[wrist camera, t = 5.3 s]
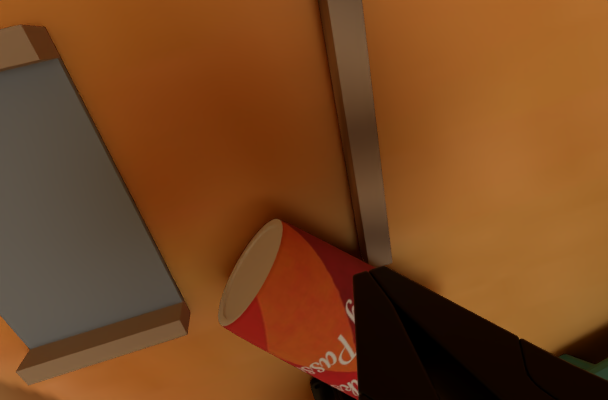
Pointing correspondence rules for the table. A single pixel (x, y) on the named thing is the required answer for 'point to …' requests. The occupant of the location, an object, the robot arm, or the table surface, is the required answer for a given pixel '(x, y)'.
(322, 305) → the coffee cup
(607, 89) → the table surface
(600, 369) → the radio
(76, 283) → the mat
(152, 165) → the table surface
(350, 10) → the strip
